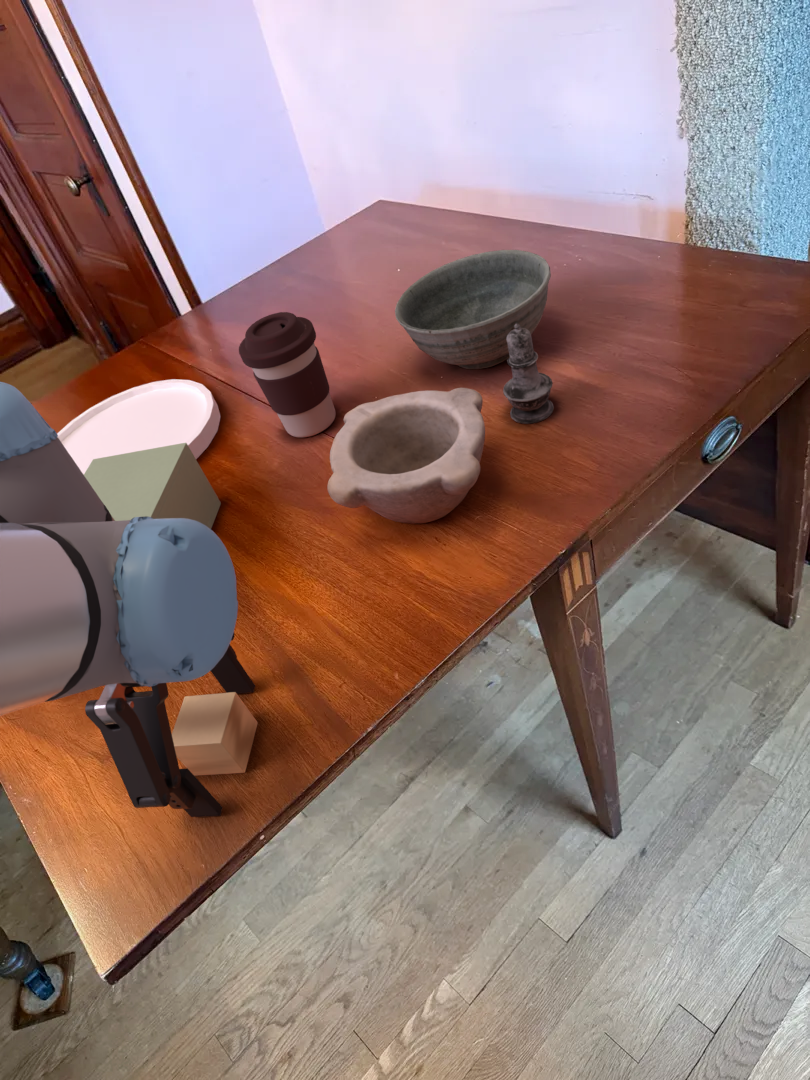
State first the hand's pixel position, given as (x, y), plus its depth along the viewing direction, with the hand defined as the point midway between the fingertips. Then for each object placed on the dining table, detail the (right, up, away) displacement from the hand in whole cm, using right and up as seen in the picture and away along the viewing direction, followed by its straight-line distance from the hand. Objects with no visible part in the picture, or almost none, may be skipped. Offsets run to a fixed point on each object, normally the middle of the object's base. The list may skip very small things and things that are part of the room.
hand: (225, 747), depth 67 cm
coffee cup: (+3, +35, +36) cm, 50 cm away
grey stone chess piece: (+32, +34, +24) cm, 53 cm away
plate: (-24, +32, +44) cm, 60 cm away
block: (0, 0, 0) cm, 0 cm away
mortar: (+18, +23, +18) cm, 35 cm away
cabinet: (-14, +17, +24) cm, 33 cm away
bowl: (+27, +45, +37) cm, 64 cm away
